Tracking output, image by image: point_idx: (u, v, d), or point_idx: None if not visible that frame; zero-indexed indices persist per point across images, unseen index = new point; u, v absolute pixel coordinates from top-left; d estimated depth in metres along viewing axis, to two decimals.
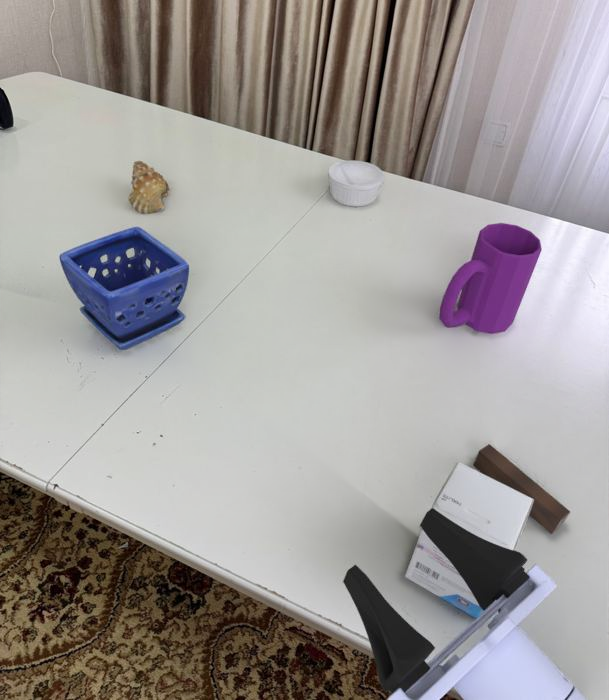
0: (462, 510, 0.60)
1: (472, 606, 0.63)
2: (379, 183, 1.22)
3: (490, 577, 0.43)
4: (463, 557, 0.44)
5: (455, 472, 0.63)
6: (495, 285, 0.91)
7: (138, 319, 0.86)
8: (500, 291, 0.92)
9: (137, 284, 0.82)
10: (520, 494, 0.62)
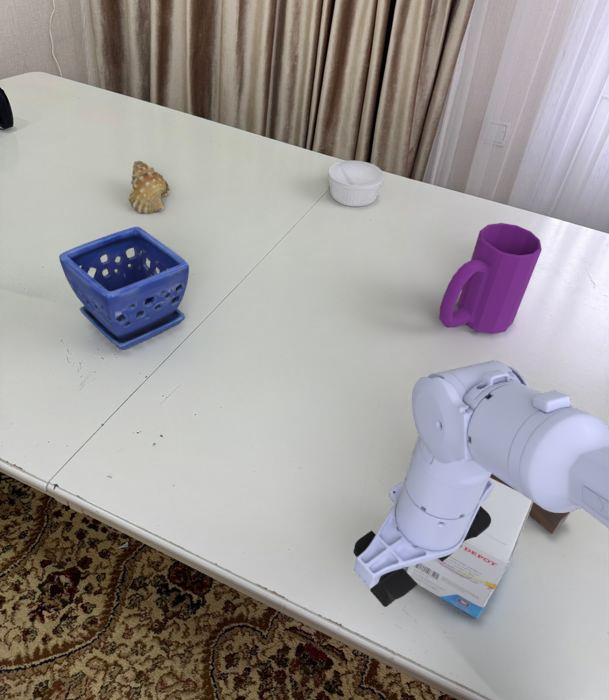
0: None
1: (471, 606, 0.63)
2: (379, 183, 1.22)
3: None
4: None
5: None
6: (495, 285, 0.91)
7: (138, 319, 0.86)
8: (500, 291, 0.92)
9: (137, 284, 0.82)
10: (520, 494, 0.62)
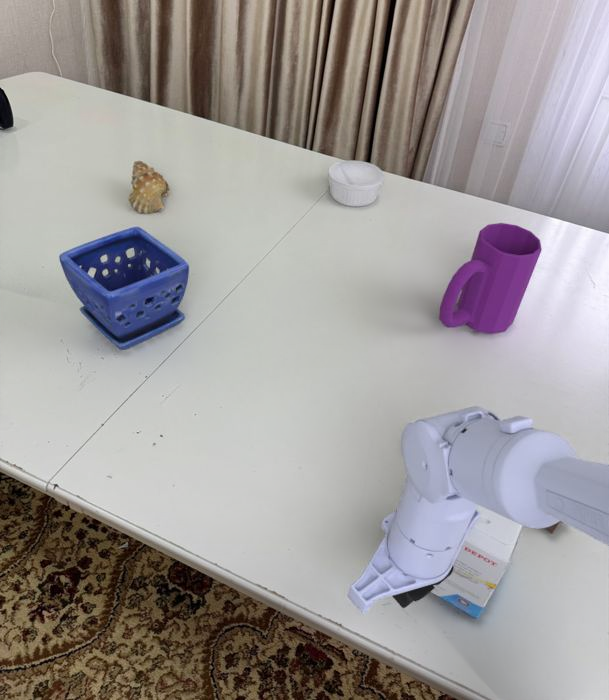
0: None
1: (472, 606, 0.63)
2: (379, 183, 1.22)
3: None
4: None
5: None
6: (495, 285, 0.91)
7: (138, 319, 0.86)
8: (500, 291, 0.92)
9: (137, 284, 0.82)
10: None
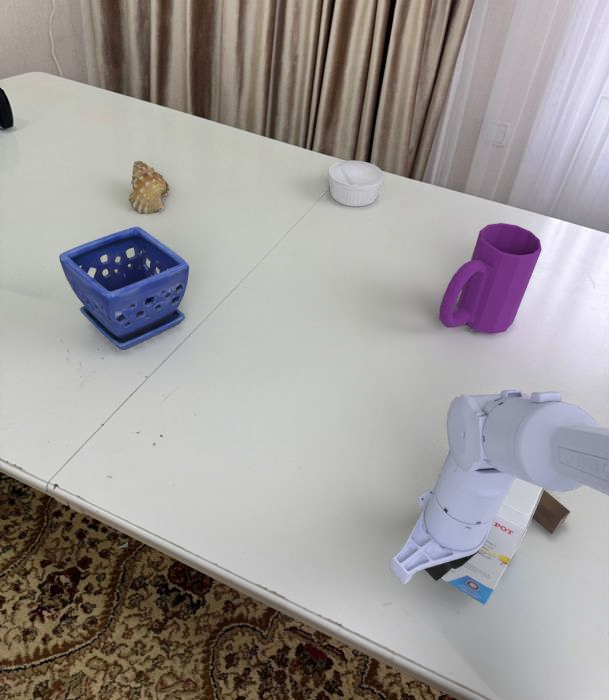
0: None
1: (481, 589, 0.63)
2: (379, 183, 1.22)
3: None
4: None
5: None
6: (495, 285, 0.91)
7: (138, 319, 0.86)
8: (500, 291, 0.92)
9: (137, 284, 0.82)
10: None
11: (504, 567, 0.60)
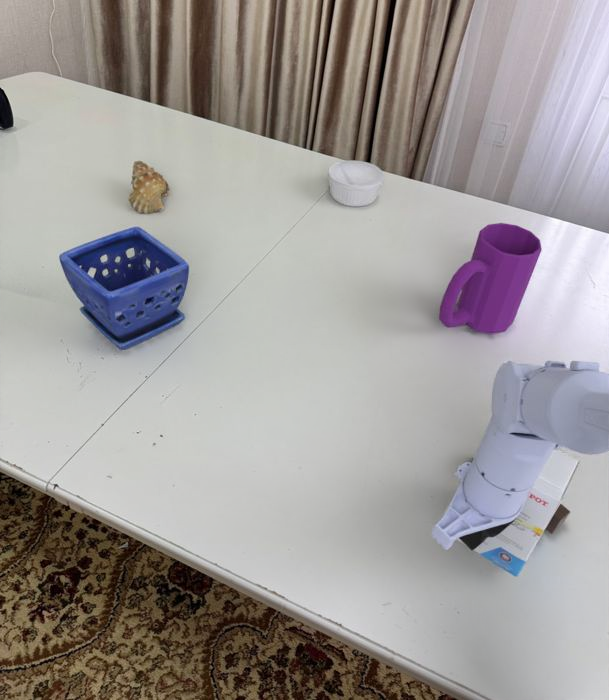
0: None
1: (513, 560, 0.65)
2: (379, 183, 1.22)
3: None
4: None
5: None
6: (495, 285, 0.91)
7: (138, 319, 0.86)
8: (500, 291, 0.92)
9: (137, 284, 0.82)
10: (567, 455, 0.66)
11: (537, 539, 0.63)
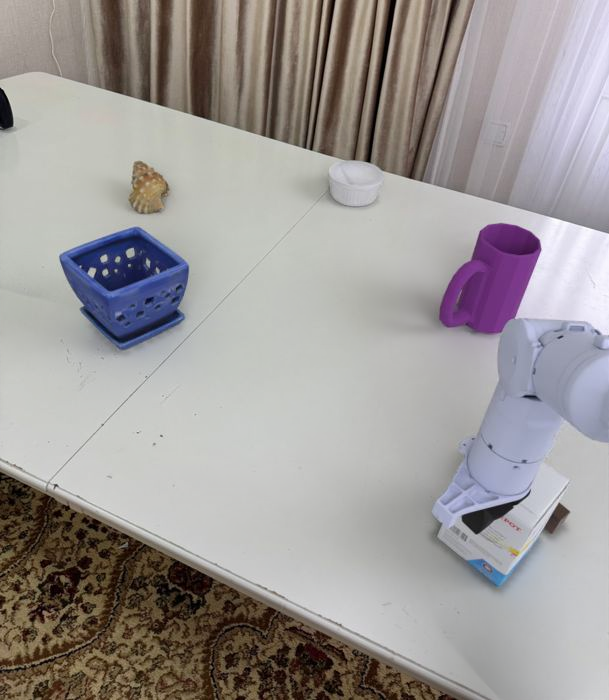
0: None
1: (495, 572, 0.66)
2: (379, 183, 1.22)
3: None
4: None
5: None
6: (495, 285, 0.91)
7: (138, 319, 0.86)
8: (500, 291, 0.92)
9: (137, 284, 0.82)
10: (558, 474, 0.64)
11: (514, 558, 0.63)
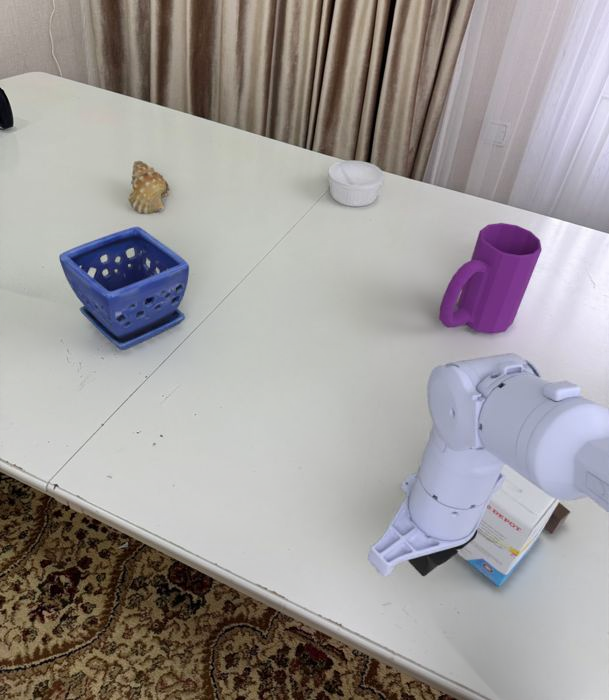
0: None
1: (495, 572, 0.66)
2: (379, 183, 1.22)
3: None
4: None
5: None
6: (495, 285, 0.91)
7: (138, 319, 0.86)
8: (500, 291, 0.92)
9: (137, 284, 0.82)
10: None
11: (514, 558, 0.63)
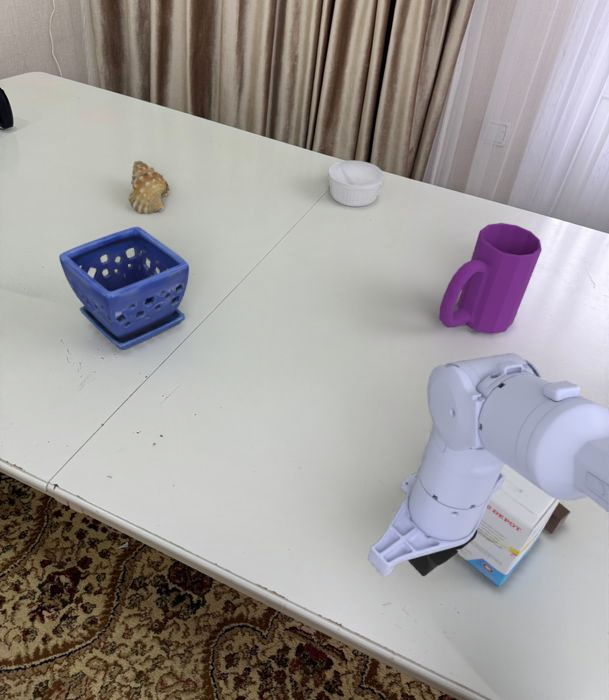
0: None
1: (495, 572, 0.66)
2: (379, 183, 1.22)
3: None
4: None
5: None
6: (495, 285, 0.91)
7: (138, 319, 0.86)
8: (500, 291, 0.92)
9: (137, 284, 0.82)
10: None
11: (514, 558, 0.63)
